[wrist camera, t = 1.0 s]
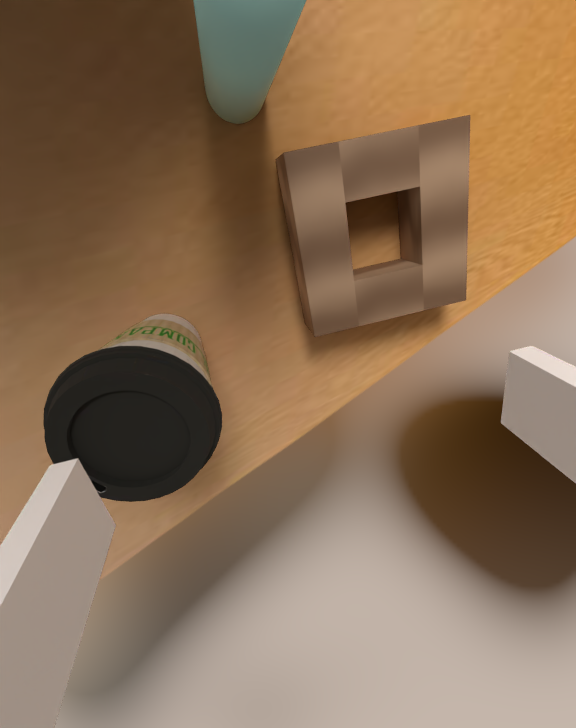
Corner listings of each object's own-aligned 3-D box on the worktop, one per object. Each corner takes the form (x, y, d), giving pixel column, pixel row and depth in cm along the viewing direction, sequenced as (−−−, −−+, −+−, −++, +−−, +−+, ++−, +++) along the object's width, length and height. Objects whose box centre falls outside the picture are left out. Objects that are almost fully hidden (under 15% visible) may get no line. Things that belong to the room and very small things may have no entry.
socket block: (275, 159, 29) (283, 152, 25) (440, 126, 30) (470, 114, 26) (305, 323, 35) (314, 337, 31) (441, 290, 36) (465, 300, 32)
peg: (197, 56, 25) (165, -144, 11) (258, 45, 26) (305, -162, 11) (214, 128, 27) (206, 41, 13) (270, 117, 28) (326, 19, 13)
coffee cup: (243, 339, 34) (257, 427, 21) (178, 410, 36) (153, 533, 23) (154, 269, 30) (100, 319, 17) (87, 352, 32) (-10, 458, 19)
